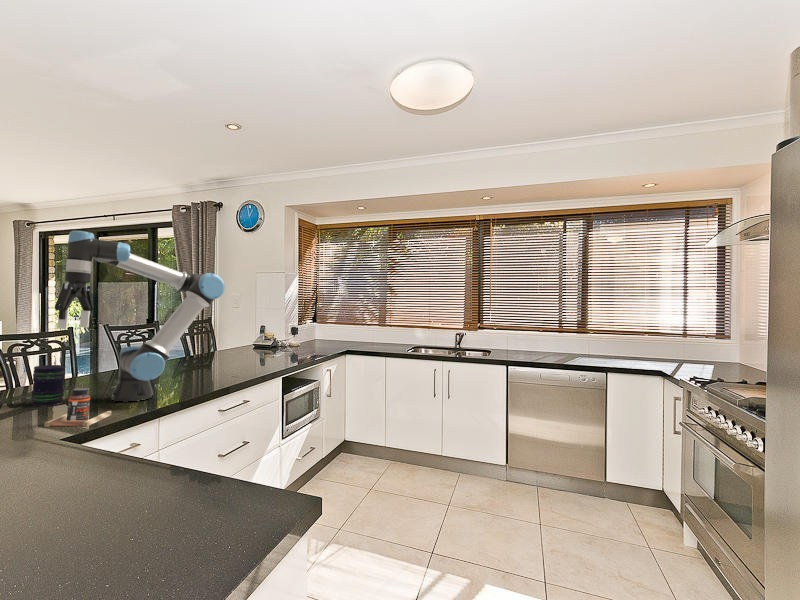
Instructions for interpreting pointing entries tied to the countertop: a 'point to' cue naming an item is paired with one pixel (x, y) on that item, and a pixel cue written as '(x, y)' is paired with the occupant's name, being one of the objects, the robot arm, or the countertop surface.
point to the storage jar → (48, 385)
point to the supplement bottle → (78, 405)
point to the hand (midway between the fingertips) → (73, 328)
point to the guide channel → (75, 421)
